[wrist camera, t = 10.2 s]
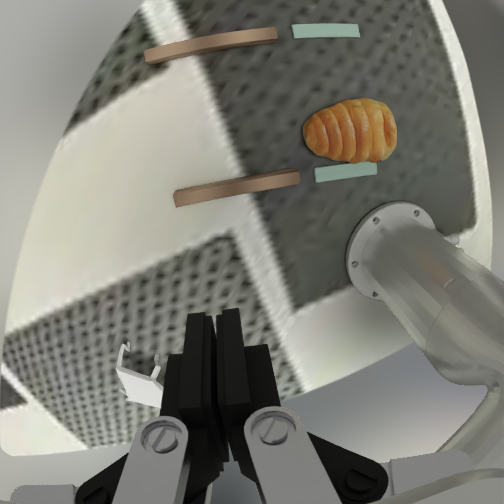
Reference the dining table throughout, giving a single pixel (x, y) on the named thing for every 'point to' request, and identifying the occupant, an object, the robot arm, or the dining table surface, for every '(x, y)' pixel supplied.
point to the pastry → (352, 131)
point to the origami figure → (140, 382)
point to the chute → (237, 184)
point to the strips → (334, 32)
